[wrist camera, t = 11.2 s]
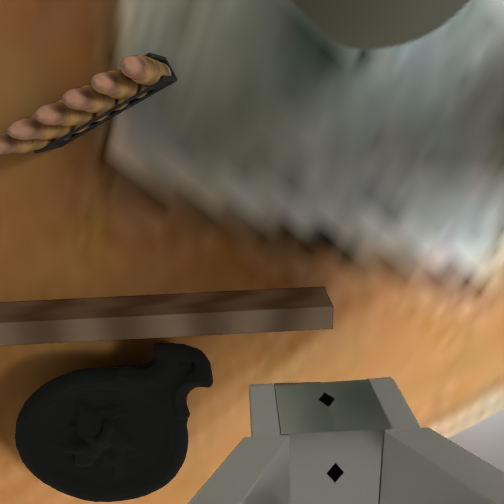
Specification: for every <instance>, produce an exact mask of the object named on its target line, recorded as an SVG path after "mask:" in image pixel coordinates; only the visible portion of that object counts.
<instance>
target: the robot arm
mask: <svg viewBox="0 0 504 504" xmlns="http://www.w3.org/2000/svg"><path fill="white" fill-rule="evenodd" d="M249 399H250V421H251V437H245V438H243V439H242V441H241V442H240V443H239V444H238V445H237V446H236V448H235V449H234V450H233V451H232V452H231V454H230V455H229V456H228V457H227V458H226V459H225V461H224V462H223V463H222V464H221V465H220V466H219V468H218V469H217V470H216V471H215V472H214V473H213V475H212V476H211V477H210V478H209V479H208V481H207V482H206V483H205V484H204V485H203V486H202V488H201V489H200V490H199V491H198V492H197V493H196V495H195V496H194V497H193V498H192V499H191V501H190V502H189V503H188V504H504V472H502V471H501V470H499V469H497V468H496V467H494V466H492V465H491V464H489V463H487V462H486V461H484V460H482V459H481V458H479V457H477V456H476V455H474V454H472V453H470V452H469V451H467V450H466V449H464V448H462V447H460V446H459V445H457V444H455V443H454V442H452V441H450V440H449V439H447V438H445V437H444V436H442V435H440V434H439V433H437V432H435V431H433V430H432V429H430V428H421V427H420V425H419V423H418V421H417V420H416V418H415V416H414V414H413V413H412V411H411V409H410V407H409V405H408V404H407V402H406V400H405V398H404V397H403V395H402V393H401V391H400V390H399V388H398V386H397V384H396V383H395V381H394V379H392V378H391V377H383V378H372V379H366V380H351V381H336V382H303V383H274V385H273V384H272V383H270V384H251V385H250V386H249Z"/></svg>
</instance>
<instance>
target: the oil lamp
mask: <svg viewBox="0 0 504 504" xmlns="http://www.w3.org/2000/svg"><path fill="white" fill-rule="evenodd" d="M154 350H155V359H154V360H152V361H150V362H148V363H144V364H139V365H132V366H121V367H117V368H89V369H81V370H77V371H73V372H70V373H67V374H64V375H62V376H59V377H57V378H55V379H53V380H51V381H49V382H47V383H45V384H44V385H43V386H41V387H40V388H39V389H38V390H36V391H35V392H34V393H33V394H32V395H31V396H30V398H29V399H28V400H27V401H26V402H25V404H24V405H23V407H22V409H21V411H20V413H19V416H18V419H17V424H16V434H15V440H16V447H17V449H18V451H19V454H20V456H21V458H22V461H23V463H24V464H25V465H26V467H27V468H28V469H29V470H30V471H31V472H32V473H33V474H34V475H35V476H36V477H37V478H38V479H40V480H41V481H42V482H43V483H45V484H47V485H49V486H51V487H52V488H54V489H56V490H58V491H60V492H62V493H65V494H67V495H70V496H73V497H76V498H79V499H83V500H87V501H94V502H113V501H122V500H129V499H134V498H138V497H141V496H145V495H148V494H150V493H152V492H154V491H156V490H158V489H160V488H162V487H163V486H165V485H166V484H168V483H169V482H170V481H171V480H172V479H173V478H174V477H175V476H176V474H177V473H178V471H179V469H180V468H181V466H182V464H183V463H184V460H185V457H186V453H187V448H188V431H187V420H188V417H189V416H190V413H189V410H188V407H187V402H186V399H187V395H188V393H189V392H190V391H191V390H192V389H193V388H195V387H211V386H212V383H213V376H212V371H211V365H210V362H209V360H208V358H207V357H206V356H205V354H204V353H203V352H202V351H201V350H199V349H197V348H194V347H190V346H187V345H185V344H174V343H157V344H155V346H154Z"/></svg>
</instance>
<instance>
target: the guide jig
mask: <svg viewBox="0 0 504 504" xmlns="http://www.w3.org/2000/svg"><path fill="white" fill-rule="evenodd" d="M320 329H333V305H332V303H331V300H330V298H329V296H328V294H327V292H326V289H325V287H308V288H287V289H266V290H246V291H225V292H205V293H184V294H164V295H143V296H123V297H102V298H82V299H61V300H41V301H20V302H0V346H2V345H22V344H42V343H62V342H82V341H102V340H121V339H141V338H161V337H181V336H201V335H221V334H240V333H260V332H280V331H300V330H320Z"/></svg>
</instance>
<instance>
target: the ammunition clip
mask: <svg viewBox="0 0 504 504" xmlns="http://www.w3.org/2000/svg"><path fill="white" fill-rule="evenodd" d="M120 69H121V70H119V71H118V70H111V71H108V72H102V73H97V74H96V75H94V76H93V77H92V79H91V85H84V86H83V87H81V88H75V89H71V90H69V91H67V92H65V93H64V95H63V96H62V99H61V100H59V101H57V102H55V103H51V104H46V105H43V106H41V107H40V108H38V109H37V110H36V111H35V114H34V115H33V116H32V117H28V118H26V119H20V120H18V121H16V122H14V123H12V124H11V125H10V126H9V127H8V129H7V131H5V132H2V133H0V155H2V154H9V153H27V152H31V151H34V152H35V153H40V152H44V151H47V150H51V149H54V148H58V147H61V146H63V145H65V144H67V143H69V142H70V141H72V140H74V139H76V138H77V137H79V136H81V135H83V134H84V133H86V132H88V131H90V130H91V129H93V128H95V127H97V126H98V125H100V124H102V123H104V122H105V121H107V120H109V119H111V118H112V117H114V116H116V115H118V114H119V113H121V112H123V111H125V110H126V109H128V108H130V107H132V106H133V105H135V104H137V103H139V102H140V101H142V100H144V99H146V98H147V97H149V96H151V95H153V94H154V93H156V92H158V91H160V90H161V89H163V88H165V87H167V86H168V85H170V84H172V83H174V82H175V81H177V78H176V76H175V74H174V72H173V71H172V69H171V67H170V65H169V63H168V61H167V60H166V58H165V57H162V56H159V55H156V54H152V53H148V54H147V55H145V56H143V55H136V56H127V57H125V58H123V59H122V60H121V61H120Z"/></svg>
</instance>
